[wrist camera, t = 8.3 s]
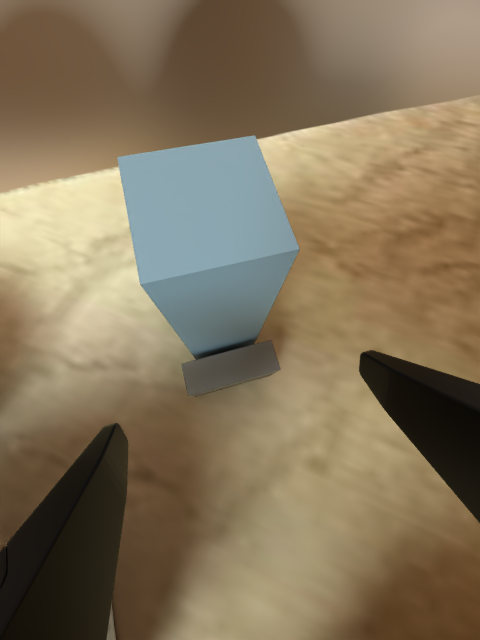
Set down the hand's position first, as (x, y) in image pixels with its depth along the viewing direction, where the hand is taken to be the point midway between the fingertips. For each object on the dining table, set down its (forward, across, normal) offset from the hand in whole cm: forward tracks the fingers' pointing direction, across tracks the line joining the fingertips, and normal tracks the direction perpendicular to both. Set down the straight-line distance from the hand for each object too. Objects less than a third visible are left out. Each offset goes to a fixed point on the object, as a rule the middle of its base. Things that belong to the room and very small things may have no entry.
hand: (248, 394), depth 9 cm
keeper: (+11, 0, +3) cm, 11 cm away
